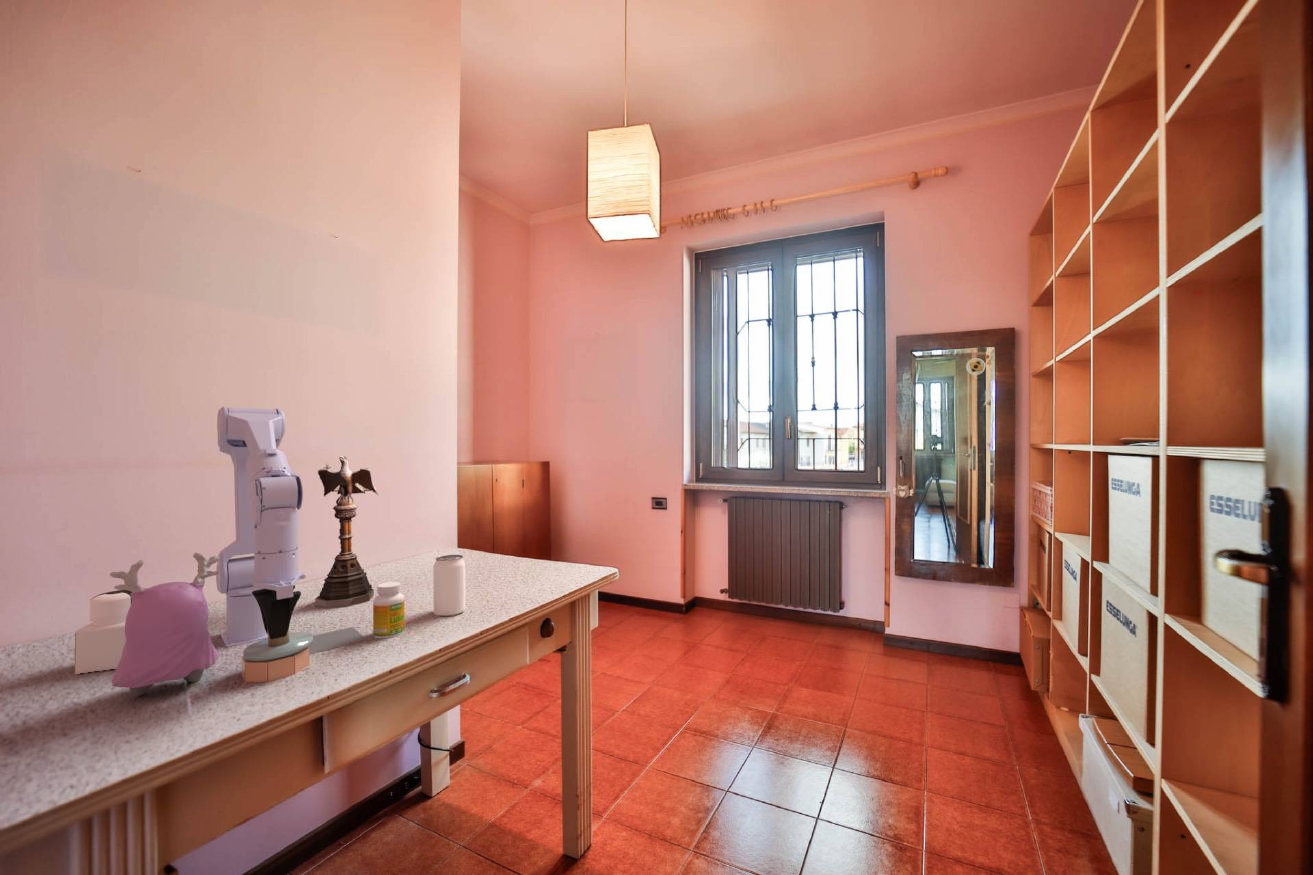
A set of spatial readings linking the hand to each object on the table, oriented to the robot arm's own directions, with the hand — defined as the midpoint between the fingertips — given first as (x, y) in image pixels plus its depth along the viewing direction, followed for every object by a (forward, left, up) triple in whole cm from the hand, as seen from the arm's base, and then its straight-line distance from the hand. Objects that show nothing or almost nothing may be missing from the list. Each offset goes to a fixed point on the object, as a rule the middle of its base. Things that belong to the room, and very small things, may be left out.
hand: (276, 634), depth 84 cm
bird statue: (-39, +20, -6) cm, 44 cm away
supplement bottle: (-4, +19, -6) cm, 20 cm away
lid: (0, 0, -2) cm, 2 cm away
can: (-9, +33, -6) cm, 34 cm away
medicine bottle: (-24, -18, -6) cm, 31 cm away
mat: (-8, +10, -6) cm, 14 cm away
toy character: (-5, -13, -6) cm, 15 cm away
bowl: (0, 0, -6) cm, 6 cm away
